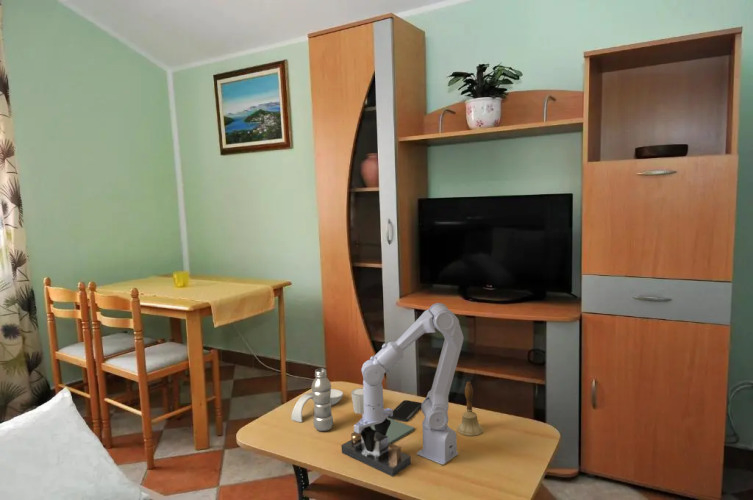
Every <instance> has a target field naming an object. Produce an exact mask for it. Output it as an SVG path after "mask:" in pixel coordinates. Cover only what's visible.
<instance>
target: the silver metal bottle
mask: <svg viewBox="0 0 753 500" xmlns="http://www.w3.org/2000/svg"><path fill="white" fill-rule="evenodd" d="M327 375H328V374H327V369H326V368H317V369H315V371H314V377H315V378H314V380H313V381H312V383H311V387H310V388H311V392H312V393H313V398H314V401H313V405H314V408H313V409H314V410H313V411H314V412H313V421H312V422H313V427H314V428H315V429H316V430H317V431H319V432H326V431H329V430H331V429H332V427H333V426H334V416H333V413H332V406H331V405H330V395H331V389H332V384H331V381H330V380H329V379H328V377H327Z"/></svg>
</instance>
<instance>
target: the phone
mask: <svg viewBox="0 0 753 500" xmlns="http://www.w3.org/2000/svg"><path fill="white" fill-rule="evenodd" d="M421 405H422V402H419V401H414V400H413V401H412V400H407V399H405V400H403V401H401V402H400V403H399V404H398V405H397V406H396V407H395V408H393V416H391V417H390V416H388V417H387V418H390V419H392V420H395V421H398V422H401V423H403V422H404V423H408V422H409V421H411V419H412V418H413V417H414V416H416V414H417V413H418V412H419V411H421V410H422V409H421Z"/></svg>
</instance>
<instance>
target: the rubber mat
mask: <svg viewBox="0 0 753 500" xmlns="http://www.w3.org/2000/svg"><path fill="white" fill-rule="evenodd" d="M387 419H388V420H390V421H391V424H390V426H389V428H388V430H387V433H386V436H388V441H389V446H390V445H392V444H394V443H395V442H397V441H399V440H400V439H402V438H403V437H405V436H407V435H409V434H410V433H412V432H414V431H415V428H416V427H414V426H411V425H409V424H406V423H403V422H402V421H397V420H396V419H395V420H392V419H390V418H388V417H387ZM371 428H372V429H373V430H375V427H374V425H372V426H371Z"/></svg>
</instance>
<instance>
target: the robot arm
mask: <svg viewBox="0 0 753 500" xmlns="http://www.w3.org/2000/svg"><path fill="white" fill-rule="evenodd" d="M436 330H438V331H439V332H440V333H441V335H442V336H443V338H444V341H443V344H442V348H441V352H440V355H439V360H438V363H437V367H436V371H435V374H434V378H433V382H432V386H431V389H430V390H429V391H428V392H427V395H426V397H425V398H424V400H423V401H422V402H421V403H422V405H421V409H420V410H421V412H422V413H423V416H424V418H423V420H422V423H421V425H422V448H421V449H420V450H419V451H417V452H416V455H418V456H421V457H422V458H425V459H427V460H429V461H432V462H434V463H436V464H439V465H442V466H444V465H445V464H447V463H449V461H451V460H452V459H453V458H455V457H456V456H458V454H459V452H458V448H457V445H458V444H457V432H456V430H454V429H452V428H451V427H450V426H449V425H448V424H449V415H448V412H449V395H450V390H451V387H452V384H453V380H454V375H455V372H456V369H457V365H458V361H459V358H460V354H461V350H462V347H463V342H464V339H465V338H464V335H463V331H462V328H461V324H460V320H459V318H458V317H457V316H456V315H455V314H454V312H453V311H452V310H450V309H449V308H448V307H447V305H445V304H444V303H441V302H437V303H433V304H432V305H431V306H430V307H429V308H428V309H426V310H424V311H423V312H422V314H421V315H419V317H418V318H417V319H416V320H415V321H414V322H413V323H412V325H410V326H409V328H408V329H406V331H404V333H402V335H401V336H400V337H399V338H397V340H396V341H389V342H388V343H383V344H382V346H381V349H380V350H379V351H378V352H377V353H376V354H375V355H372V356H371V357H370V358H369V359H368V360H366V361H365V362H364V363H363V364H362V367H361V368H360V370H361V374H362V377H363V381H362V385H363V387H362V388H363V402H364V414H361V415H362V417H361V419H359V421H358V422H356V423H355V424H354V425H353V433H354V432H356V433H360V434H361V436H362V438H363V440H364V443H365V446H366V450H368V451H370V452H372V451H373V448H374V436H375V433H376V432H378V433H381V434H383V435H386V433H387V430H388V428H389V426H390V424H391V421H390V420H388V419H387V418H388V416H390V417H391V416H393V410H394V408H389V407H386V408H384V387H383V380H384V378H385V374H386V373H387V372H389V371H390V370H391V369H392V368H393V367H394V366H395V365H396V364H397V363H398V362H400V360H401V359H402V358H403V357H404V351H406V349H407V348H408V347H409V346H411V345H412V344H413V343H414V342H416V341H417V340H418V339H419V338H420V337H422V335H424V334H430V333H431V334H433V333H436ZM372 425H374V427H375V430H373V429H372V428H371V426H372Z"/></svg>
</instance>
